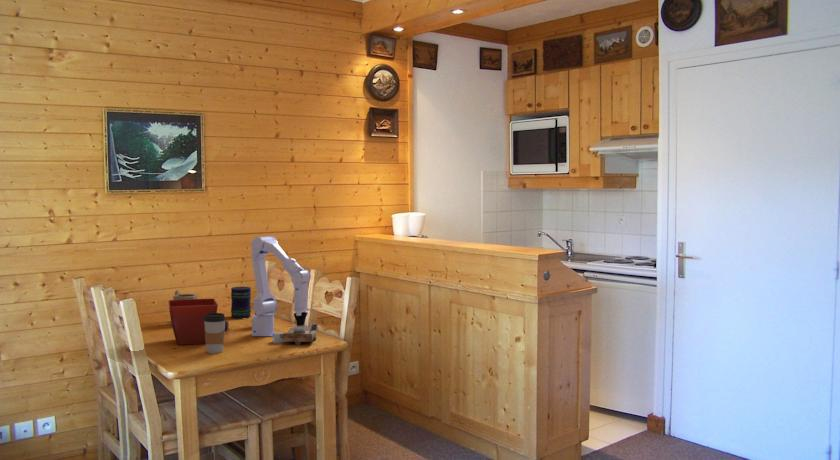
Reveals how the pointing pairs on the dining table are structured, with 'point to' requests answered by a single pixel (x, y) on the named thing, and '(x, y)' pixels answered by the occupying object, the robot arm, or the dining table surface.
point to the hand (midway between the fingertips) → (300, 329)
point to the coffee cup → (214, 332)
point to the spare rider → (278, 337)
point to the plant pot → (190, 319)
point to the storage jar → (240, 302)
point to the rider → (299, 328)
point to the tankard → (183, 297)
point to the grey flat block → (301, 335)
